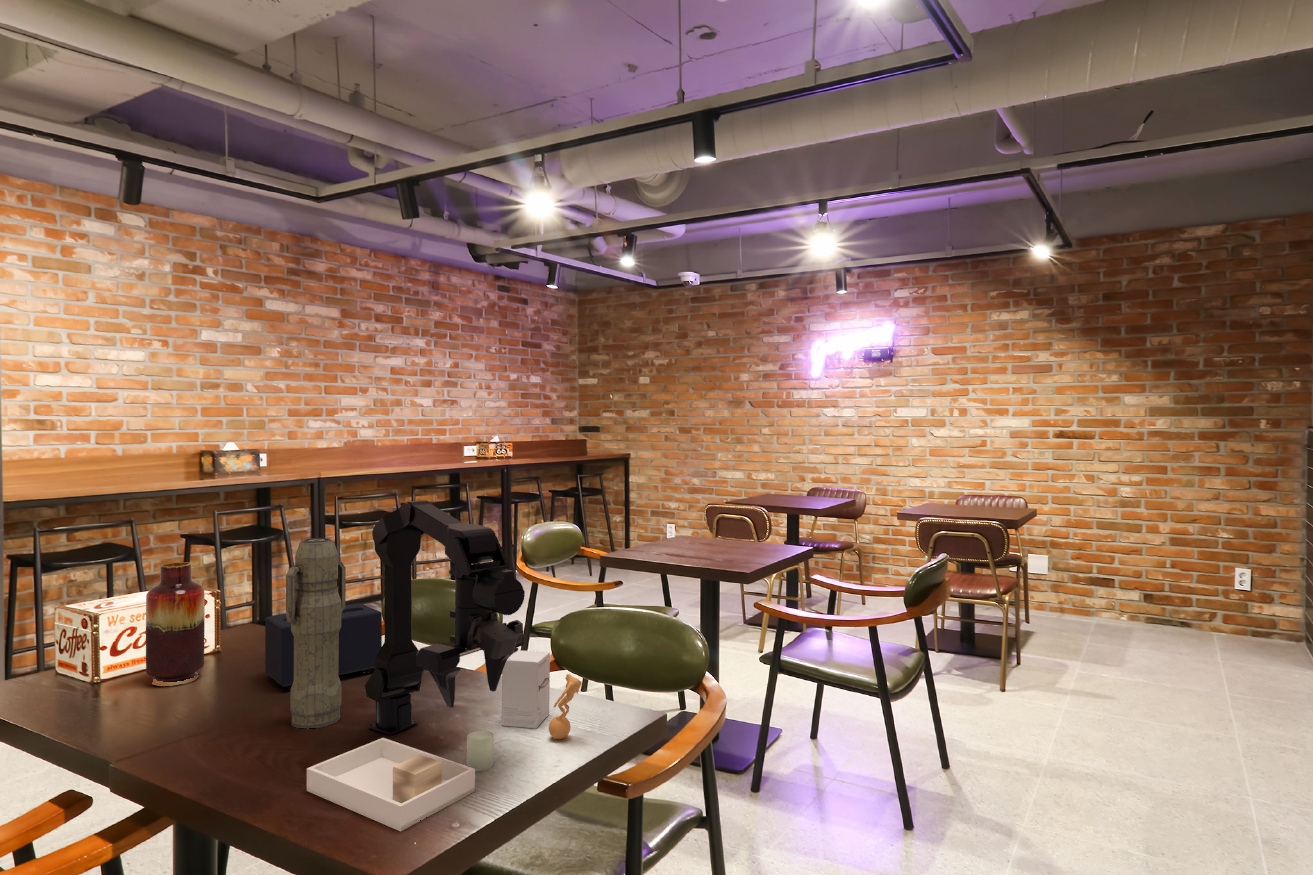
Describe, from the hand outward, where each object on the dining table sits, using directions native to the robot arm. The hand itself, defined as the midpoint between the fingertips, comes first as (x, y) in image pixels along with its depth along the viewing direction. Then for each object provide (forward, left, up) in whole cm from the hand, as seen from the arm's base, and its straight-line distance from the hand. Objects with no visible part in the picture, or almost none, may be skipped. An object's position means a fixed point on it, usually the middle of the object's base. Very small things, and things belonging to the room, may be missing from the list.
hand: (472, 698), depth 123 cm
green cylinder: (0, +2, -12) cm, 12 cm away
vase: (-89, -4, -12) cm, 90 cm away
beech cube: (+1, -12, -11) cm, 16 cm away
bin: (-5, -12, -12) cm, 18 cm away
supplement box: (-7, +21, -12) cm, 25 cm away
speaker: (-64, +16, -12) cm, 67 cm away
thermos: (-41, -1, -12) cm, 43 cm away
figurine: (+5, +18, -12) cm, 22 cm away
